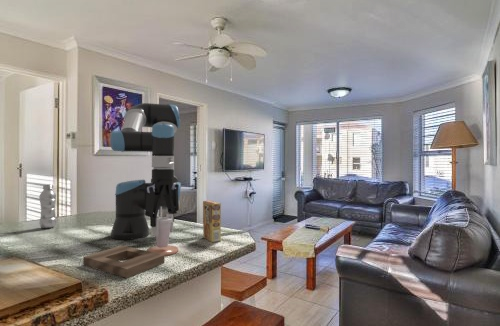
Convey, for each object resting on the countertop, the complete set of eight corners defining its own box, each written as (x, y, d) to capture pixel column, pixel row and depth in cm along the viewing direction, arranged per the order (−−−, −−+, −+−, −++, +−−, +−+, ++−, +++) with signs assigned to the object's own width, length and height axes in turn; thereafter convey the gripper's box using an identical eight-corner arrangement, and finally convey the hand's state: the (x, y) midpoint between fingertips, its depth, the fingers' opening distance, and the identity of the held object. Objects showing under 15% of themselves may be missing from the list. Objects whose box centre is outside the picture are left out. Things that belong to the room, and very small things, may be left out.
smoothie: (155, 243, 110) (155, 205, 109) (173, 243, 110) (173, 205, 110) (151, 248, 103) (151, 208, 103) (170, 248, 104) (170, 208, 103)
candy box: (221, 241, 121) (221, 202, 121) (211, 242, 118) (212, 203, 118) (211, 236, 128) (211, 200, 128) (202, 237, 126) (202, 200, 126)
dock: (83, 264, 93) (83, 256, 93) (122, 252, 105) (122, 245, 105) (126, 278, 83) (126, 268, 83) (164, 262, 95) (164, 255, 95)
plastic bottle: (59, 227, 141) (59, 184, 141) (43, 230, 135) (43, 185, 135) (52, 225, 145) (52, 184, 144) (36, 228, 139) (36, 185, 138)
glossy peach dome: (139, 253, 105) (139, 251, 105) (162, 245, 114) (162, 243, 114) (162, 258, 99) (162, 256, 99) (185, 250, 109) (185, 248, 109)
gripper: (149, 169, 96) (148, 241, 96) (189, 167, 113) (189, 229, 113) (133, 168, 100) (132, 238, 100) (174, 167, 116) (174, 227, 117)
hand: (162, 233), depth 107 cm, fingers closed on smoothie, 6 cm apart
